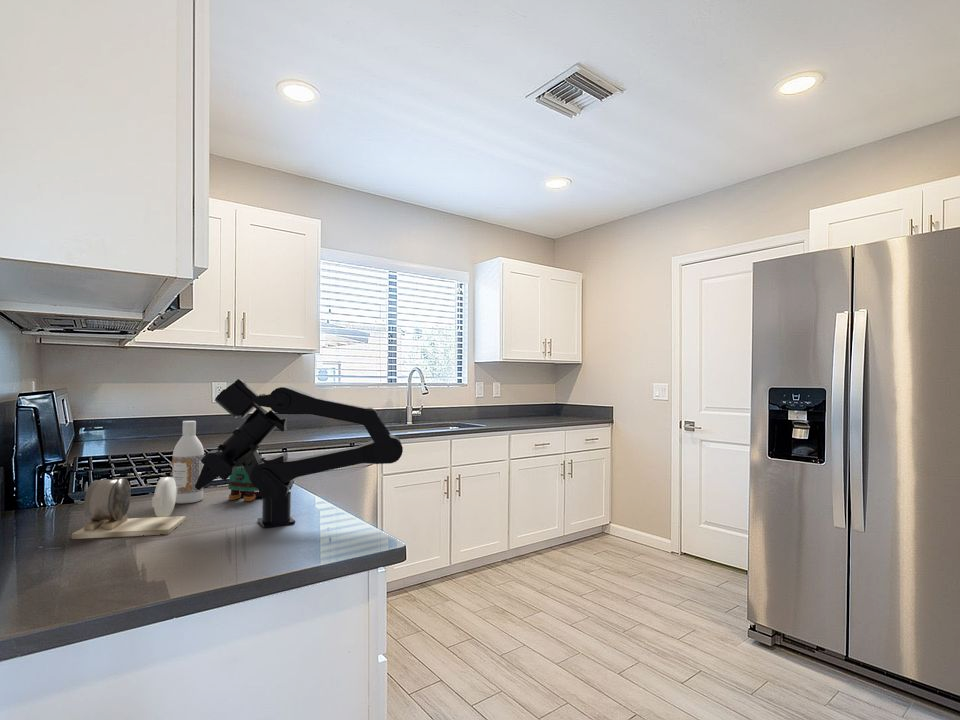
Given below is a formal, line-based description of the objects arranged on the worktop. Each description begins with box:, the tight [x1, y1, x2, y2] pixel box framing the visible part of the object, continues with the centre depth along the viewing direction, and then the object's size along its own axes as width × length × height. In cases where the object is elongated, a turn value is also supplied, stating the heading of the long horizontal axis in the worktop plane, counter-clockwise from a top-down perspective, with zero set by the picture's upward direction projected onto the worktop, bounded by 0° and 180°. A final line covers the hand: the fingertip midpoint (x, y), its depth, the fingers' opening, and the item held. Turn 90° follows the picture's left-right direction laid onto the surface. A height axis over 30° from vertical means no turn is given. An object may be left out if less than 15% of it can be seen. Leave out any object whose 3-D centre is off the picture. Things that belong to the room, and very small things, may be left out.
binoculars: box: [228, 463, 261, 502], centre depth 138 cm, size 9×11×10 cm
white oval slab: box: [151, 476, 178, 517], centre depth 111 cm, size 2×10×8 cm, turn 12°
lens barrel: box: [83, 477, 132, 522], centre depth 108 cm, size 5×8×8 cm, turn 12°
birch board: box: [71, 514, 186, 540], centre depth 109 cm, size 17×10×2 cm, turn 102°
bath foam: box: [171, 420, 205, 505], centre depth 134 cm, size 7×7×20 cm
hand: (197, 488), depth 112 cm, fingers closed
